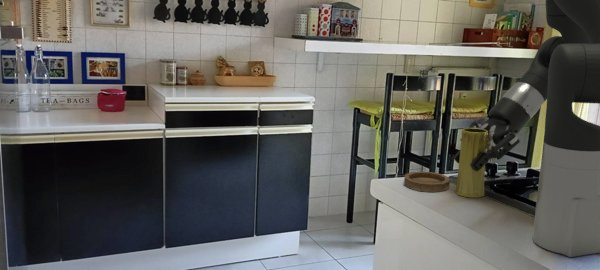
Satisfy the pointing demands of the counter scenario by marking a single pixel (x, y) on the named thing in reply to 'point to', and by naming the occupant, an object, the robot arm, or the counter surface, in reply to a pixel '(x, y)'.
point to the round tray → (426, 181)
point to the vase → (471, 147)
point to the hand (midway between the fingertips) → (464, 164)
